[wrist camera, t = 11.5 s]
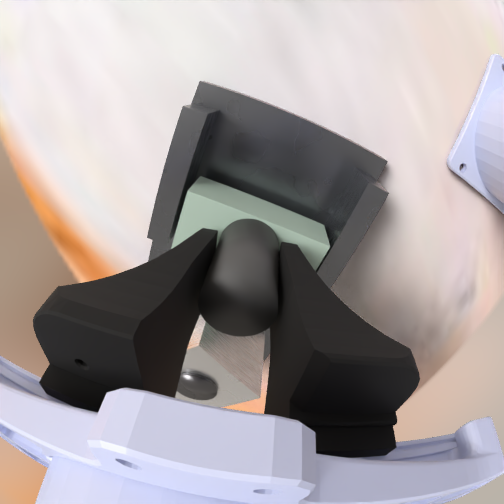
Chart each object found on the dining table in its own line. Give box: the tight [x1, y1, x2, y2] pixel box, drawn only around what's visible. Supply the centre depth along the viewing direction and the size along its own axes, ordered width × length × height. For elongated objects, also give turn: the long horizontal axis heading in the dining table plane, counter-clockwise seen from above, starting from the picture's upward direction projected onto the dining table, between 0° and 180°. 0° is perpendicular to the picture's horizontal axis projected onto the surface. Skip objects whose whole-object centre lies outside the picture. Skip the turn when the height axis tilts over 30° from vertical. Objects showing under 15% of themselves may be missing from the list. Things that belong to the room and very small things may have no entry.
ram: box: [171, 176, 330, 337], centre depth 12 cm, size 6×5×6 cm
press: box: [147, 81, 389, 360], centre depth 15 cm, size 9×15×3 cm, turn 159°
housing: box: [175, 314, 265, 407], centre depth 15 cm, size 4×4×5 cm
